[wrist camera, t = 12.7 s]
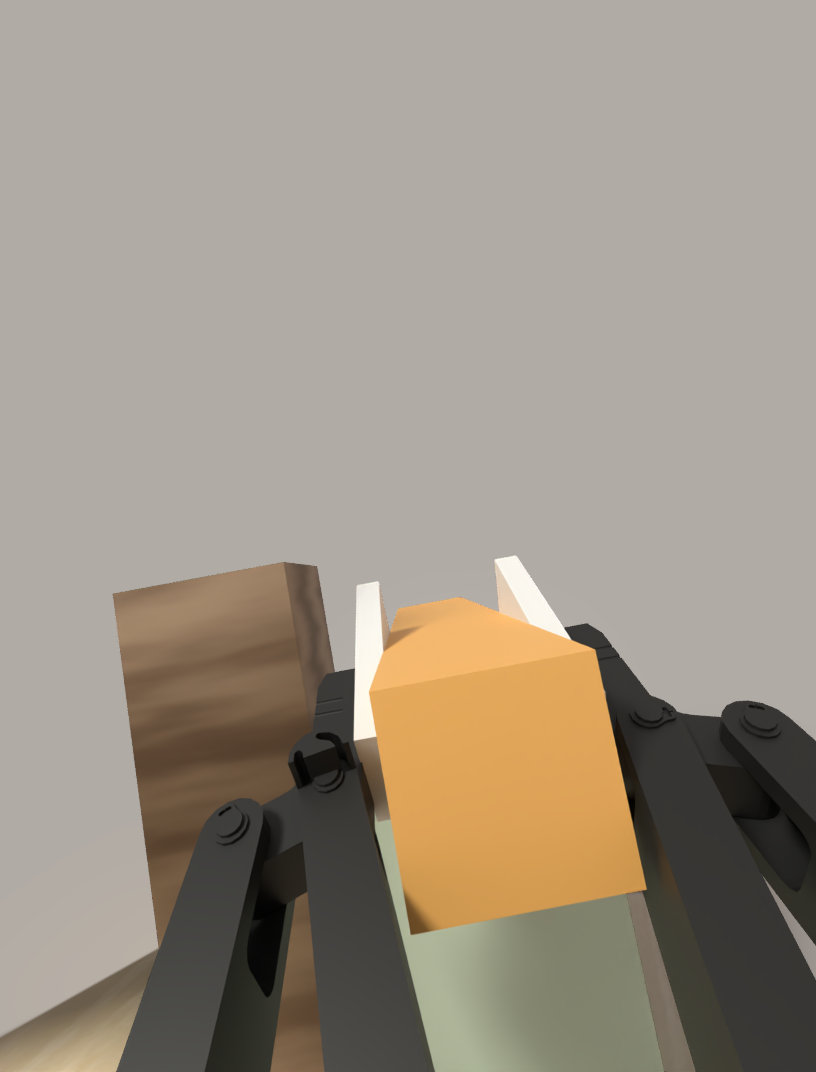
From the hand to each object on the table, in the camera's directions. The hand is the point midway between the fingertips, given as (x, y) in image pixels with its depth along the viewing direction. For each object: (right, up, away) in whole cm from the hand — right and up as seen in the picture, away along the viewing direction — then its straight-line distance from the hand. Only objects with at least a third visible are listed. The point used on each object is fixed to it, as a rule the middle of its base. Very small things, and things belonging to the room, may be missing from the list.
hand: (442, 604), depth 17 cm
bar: (+1, -5, +2) cm, 5 cm away
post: (-8, -30, +13) cm, 34 cm away
